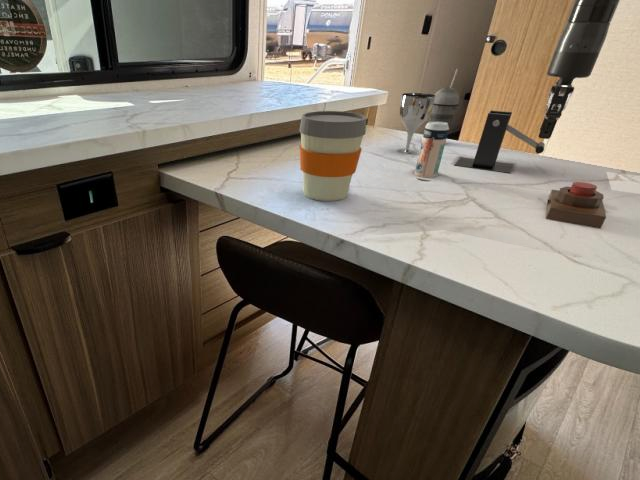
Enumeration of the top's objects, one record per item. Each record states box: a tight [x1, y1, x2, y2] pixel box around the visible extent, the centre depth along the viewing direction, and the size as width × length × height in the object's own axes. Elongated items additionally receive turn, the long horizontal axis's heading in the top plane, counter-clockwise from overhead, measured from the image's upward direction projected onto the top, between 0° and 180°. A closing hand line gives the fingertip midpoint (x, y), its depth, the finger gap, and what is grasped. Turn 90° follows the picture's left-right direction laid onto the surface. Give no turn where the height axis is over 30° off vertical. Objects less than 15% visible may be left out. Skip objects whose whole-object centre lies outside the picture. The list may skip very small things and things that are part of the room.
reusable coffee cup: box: [299, 110, 367, 202], centre depth 82 cm, size 13×13×15 cm
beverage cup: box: [428, 68, 460, 128], centre depth 115 cm, size 7×7×20 cm
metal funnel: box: [399, 92, 436, 155], centre depth 107 cm, size 8×8×15 cm
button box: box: [545, 186, 607, 229], centre depth 76 cm, size 12×8×4 cm, turn 147°
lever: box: [497, 113, 546, 154], centre depth 94 cm, size 13×5×2 cm, turn 57°
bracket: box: [453, 110, 514, 174], centre depth 98 cm, size 12×9×13 cm
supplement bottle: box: [414, 121, 450, 182], centre depth 92 cm, size 5×5×12 cm
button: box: [569, 181, 598, 196], centre depth 75 cm, size 4×4×2 cm
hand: (544, 134), depth 92 cm, fingers open, 8 cm apart
